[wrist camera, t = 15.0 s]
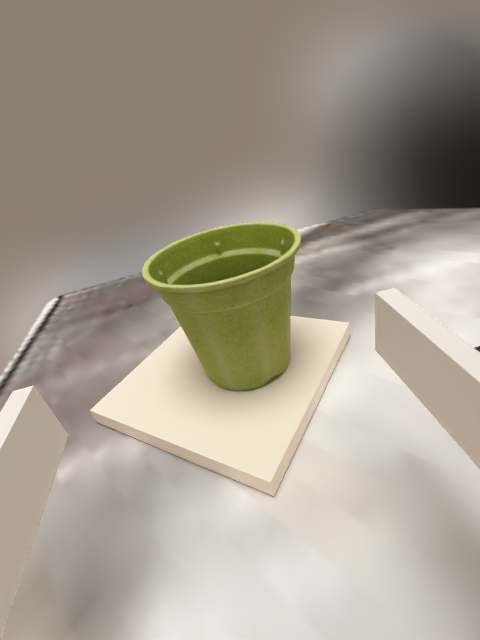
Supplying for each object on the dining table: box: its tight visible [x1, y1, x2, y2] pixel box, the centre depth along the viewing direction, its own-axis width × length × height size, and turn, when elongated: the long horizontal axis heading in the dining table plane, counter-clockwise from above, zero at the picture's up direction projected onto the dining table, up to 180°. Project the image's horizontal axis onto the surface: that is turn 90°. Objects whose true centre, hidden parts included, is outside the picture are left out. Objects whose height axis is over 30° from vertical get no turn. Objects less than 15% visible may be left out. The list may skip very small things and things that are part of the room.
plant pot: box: [142, 222, 301, 390], centre depth 23 cm, size 9×9×9 cm
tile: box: [90, 316, 350, 496], centre depth 26 cm, size 14×14×1 cm
